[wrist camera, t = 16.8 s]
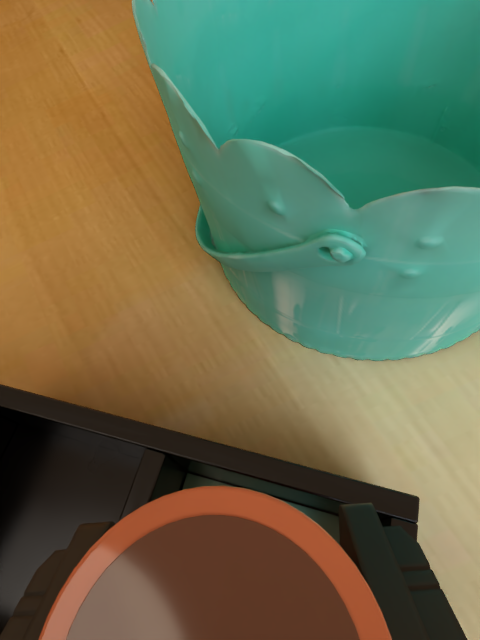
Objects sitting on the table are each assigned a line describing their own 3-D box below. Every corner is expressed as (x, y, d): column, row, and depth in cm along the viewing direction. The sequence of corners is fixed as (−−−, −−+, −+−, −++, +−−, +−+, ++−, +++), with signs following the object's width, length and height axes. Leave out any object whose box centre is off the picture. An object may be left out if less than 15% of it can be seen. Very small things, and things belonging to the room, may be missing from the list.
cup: (193, 749, 12) (37, 1127, 4) (150, 553, 15) (0, 556, 7) (359, 674, 13) (501, 884, 5) (290, 497, 15) (308, 437, 7)
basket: (436, 466, 18) (710, 325, 7) (130, 268, 24) (2, 20, 13) (581, 188, 25) (842, -121, 13) (311, 88, 31) (333, -181, 19)
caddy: (353, 814, 13) (388, 929, 9) (-97, 627, 17) (-216, 652, 13) (386, 509, 17) (420, 496, 13) (19, 407, 21) (-43, 372, 17)
